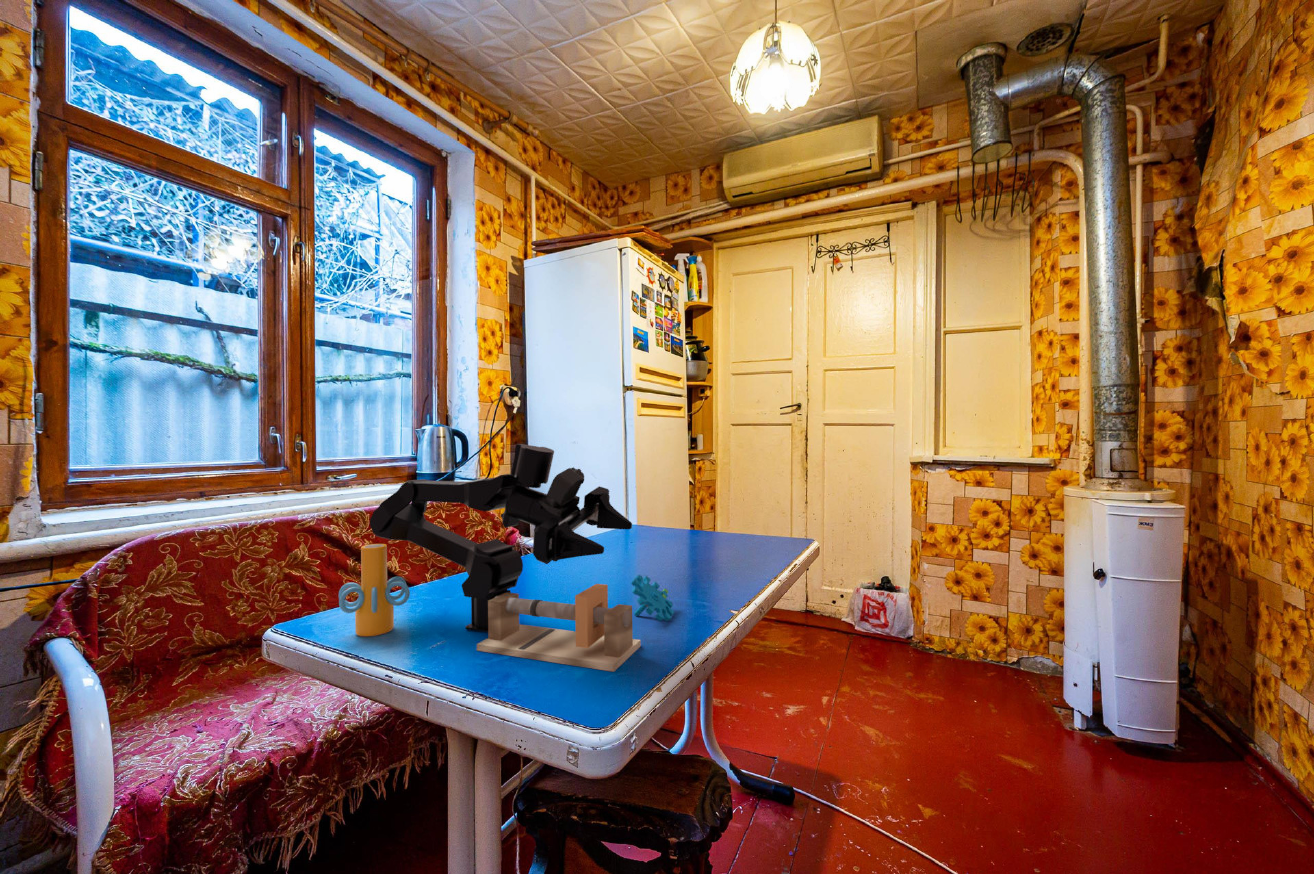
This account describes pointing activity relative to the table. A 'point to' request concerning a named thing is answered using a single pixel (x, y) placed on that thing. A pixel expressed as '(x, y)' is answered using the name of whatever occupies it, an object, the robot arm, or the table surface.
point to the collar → (589, 614)
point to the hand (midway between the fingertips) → (618, 537)
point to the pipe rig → (558, 633)
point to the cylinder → (373, 593)
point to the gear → (651, 598)
